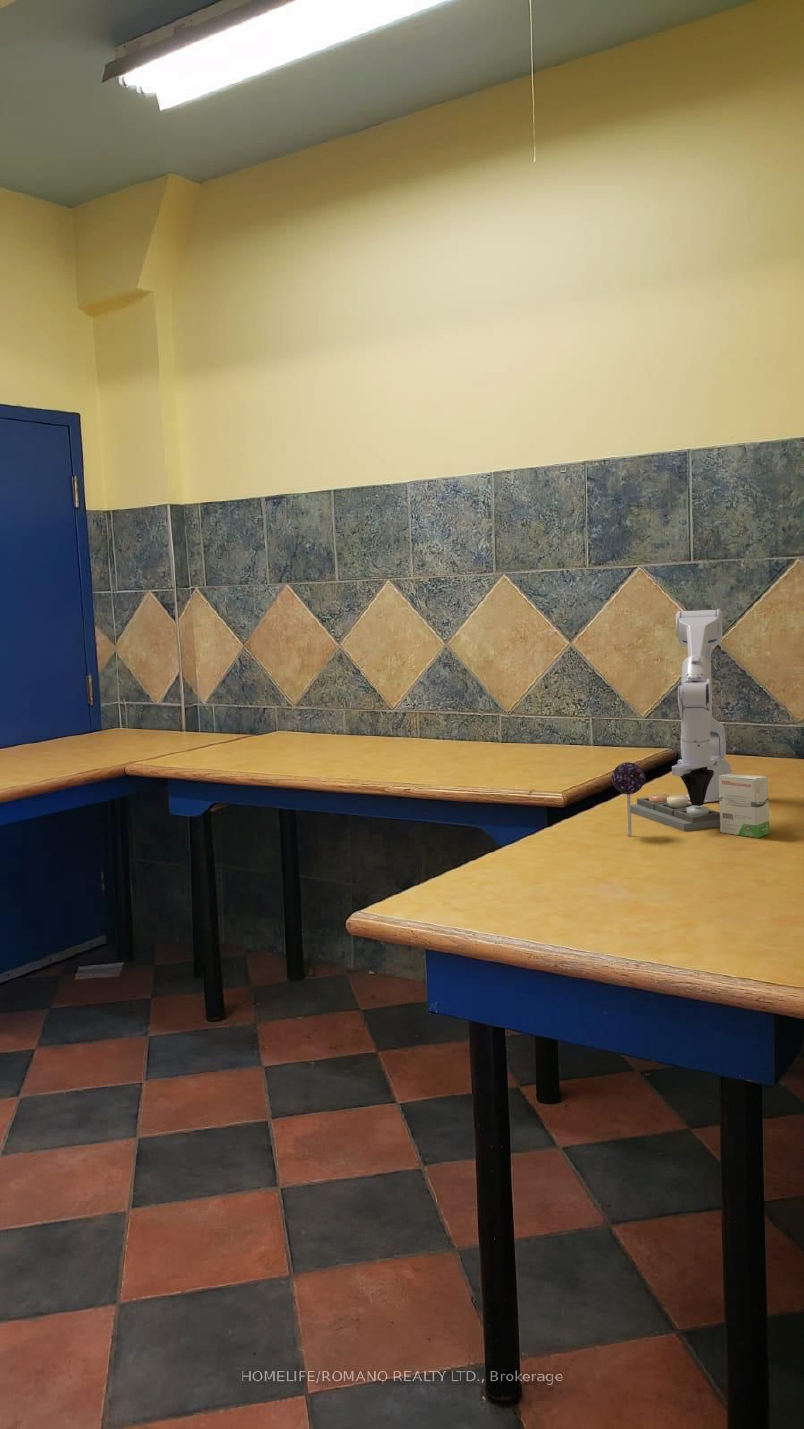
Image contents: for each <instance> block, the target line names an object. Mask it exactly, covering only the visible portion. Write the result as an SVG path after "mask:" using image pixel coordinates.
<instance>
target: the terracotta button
mask: <svg viewBox="0 0 804 1429" xmlns="http://www.w3.org/2000/svg"><path fill="white" fill-rule="evenodd" d="M668 796H670V795H669V794H665V793H654V794H649V795H648V797H649V801H650V802H653V803H659V802H667V797H668Z"/></svg>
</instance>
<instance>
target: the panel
mask: <svg viewBox="0 0 804 1429" xmlns="http://www.w3.org/2000/svg"><path fill="white" fill-rule="evenodd" d="M689 806H696V805H692V804H691V802H688V807H689ZM708 809H709V814H703V815H696V816H693V815H690V814H687V807H684V808H671V807H668V806H667V802H659V803H653V802H650V801H649V796H647V797H642V798H636V803H635V804H631V814H633V815H638V816H639V817H642V818H645V819H648V820H651V821H654V822H657V823H660V824H663V825H664V826H665V825H666V826H668V827H671V828H673V829H675V830H676V829H677V830H679V831H682V832H689V831H696V830H697V831H698V830H705V829H710V828H718V827H719V828H720V811H716V810H714V809H710V808H708Z"/></svg>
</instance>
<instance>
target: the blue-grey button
mask: <svg viewBox="0 0 804 1429" xmlns="http://www.w3.org/2000/svg"><path fill="white" fill-rule="evenodd" d="M709 809H710V808H709V807H708V806H706V805H705V806H704V805H701V806H689V807H687V814H690V815H693V816H696V815H703V814H709Z"/></svg>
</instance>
